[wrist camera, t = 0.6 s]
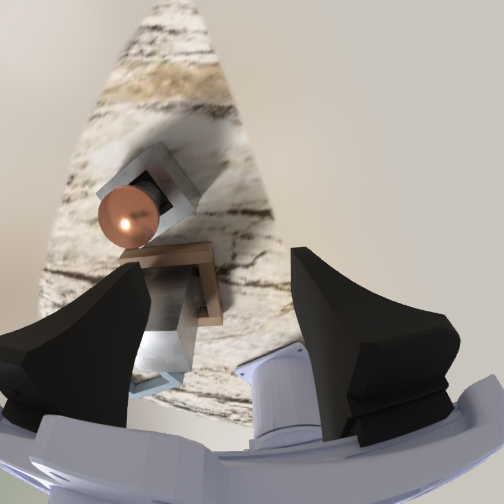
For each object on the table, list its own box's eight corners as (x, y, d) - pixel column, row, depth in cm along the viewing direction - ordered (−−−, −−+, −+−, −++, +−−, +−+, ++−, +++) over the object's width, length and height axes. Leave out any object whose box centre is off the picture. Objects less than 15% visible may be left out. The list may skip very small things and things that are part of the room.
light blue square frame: (183, 374, 30) (182, 384, 29) (136, 390, 32) (133, 399, 31) (130, 328, 26) (126, 338, 25) (86, 351, 28) (82, 360, 27)
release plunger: (181, 205, 18) (170, 227, 15) (141, 233, 19) (125, 259, 16) (149, 161, 16) (129, 174, 13) (110, 193, 17) (87, 212, 14)
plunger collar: (201, 196, 20) (195, 210, 18) (150, 230, 22) (139, 248, 19) (162, 141, 18) (149, 147, 16) (112, 181, 19) (95, 193, 17)
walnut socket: (210, 241, 22) (208, 250, 21) (223, 314, 26) (222, 325, 24) (124, 250, 22) (118, 259, 21) (147, 317, 26) (144, 328, 24)
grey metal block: (193, 261, 23) (176, 330, 16) (201, 300, 25) (191, 371, 18) (147, 265, 23) (117, 331, 16) (159, 303, 25) (138, 371, 18)
